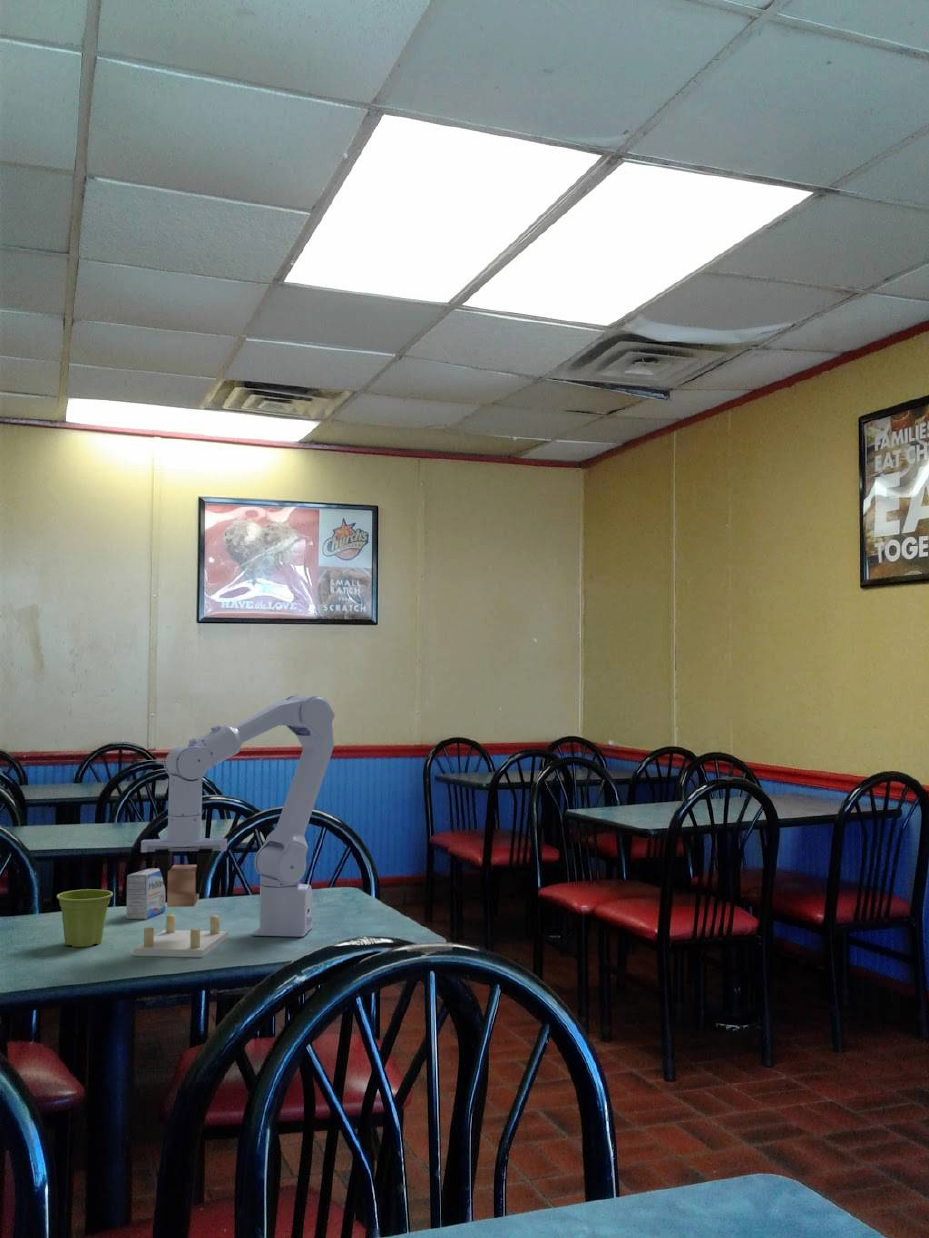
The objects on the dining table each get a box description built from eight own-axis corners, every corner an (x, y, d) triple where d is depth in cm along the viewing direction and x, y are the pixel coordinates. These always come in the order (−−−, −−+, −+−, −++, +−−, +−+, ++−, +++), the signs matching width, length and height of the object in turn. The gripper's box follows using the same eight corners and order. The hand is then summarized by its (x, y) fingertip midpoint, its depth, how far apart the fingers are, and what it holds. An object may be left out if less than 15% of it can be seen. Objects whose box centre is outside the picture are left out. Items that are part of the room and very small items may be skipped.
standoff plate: (227, 938, 194) (228, 914, 194) (202, 957, 180) (203, 931, 180) (163, 936, 195) (163, 913, 195) (133, 955, 181) (134, 930, 181)
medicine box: (146, 920, 209) (147, 875, 209) (125, 919, 210) (126, 874, 210) (165, 911, 216) (166, 868, 217) (145, 910, 217) (146, 867, 218)
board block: (198, 898, 192) (199, 864, 192) (193, 906, 185) (194, 871, 185) (173, 898, 191) (173, 864, 192) (167, 906, 184) (167, 871, 185)
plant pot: (111, 936, 195) (112, 887, 196) (112, 947, 186) (113, 897, 187) (56, 939, 192) (57, 890, 193) (54, 951, 183) (55, 900, 184)
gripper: (229, 811, 194) (227, 887, 193) (146, 812, 192) (144, 889, 191) (225, 816, 187) (223, 895, 186) (139, 817, 185) (137, 897, 184)
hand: (183, 892), depth 188 cm, fingers closed on board block, 4 cm apart
